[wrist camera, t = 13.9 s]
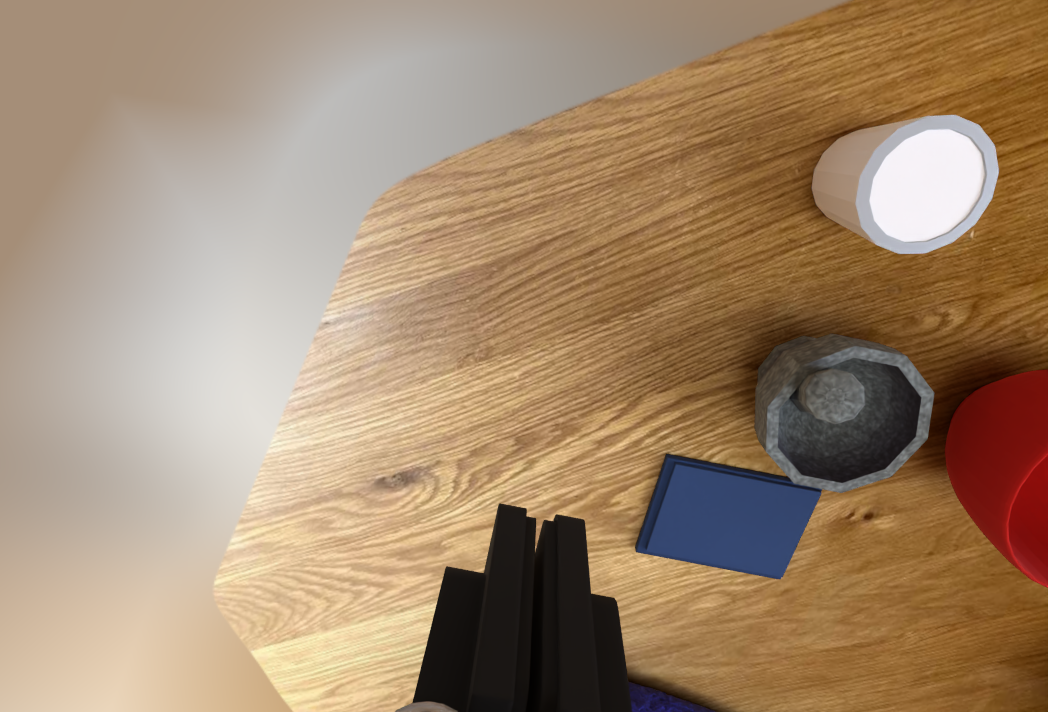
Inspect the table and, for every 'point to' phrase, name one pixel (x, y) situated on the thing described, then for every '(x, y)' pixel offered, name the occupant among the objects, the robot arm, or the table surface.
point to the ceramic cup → (1005, 467)
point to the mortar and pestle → (840, 410)
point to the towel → (659, 701)
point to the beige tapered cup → (908, 182)
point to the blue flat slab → (725, 517)
